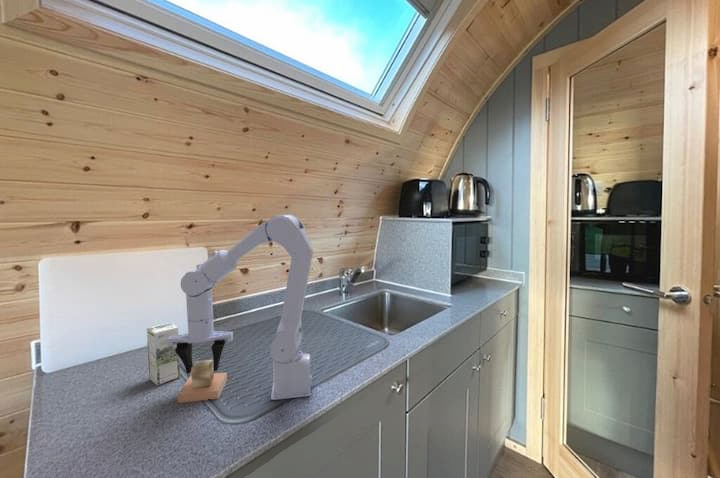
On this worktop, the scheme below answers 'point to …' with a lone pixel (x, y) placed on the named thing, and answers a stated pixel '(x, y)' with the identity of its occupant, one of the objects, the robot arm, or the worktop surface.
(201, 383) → the beech block
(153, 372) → the syrup box
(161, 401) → the worktop surface
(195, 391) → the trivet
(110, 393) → the worktop surface
